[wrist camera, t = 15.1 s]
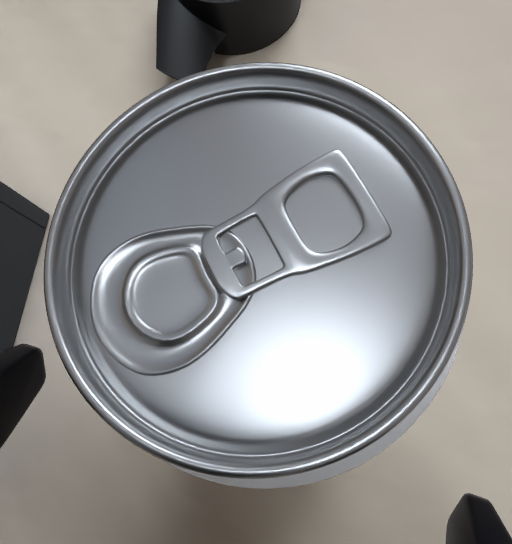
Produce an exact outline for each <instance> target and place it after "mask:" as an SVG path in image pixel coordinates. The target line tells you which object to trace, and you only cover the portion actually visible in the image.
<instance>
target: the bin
mask: <svg viewBox="0 0 512 544" xmlns="http://www.w3.org/2000/svg"><path fill="white" fill-rule="evenodd" d="M48 218H49V214H48V213H47V212H45V211H44V210H42V209H41V208H39V207H38V206H36V205H35V204H33V203H32V202H30V201H29V200H27V199H26V198H24V197H23V196H21V195H20V194H18V193H17V192H16V191H14V190H13V189H11V188H10V187H8V186H7V185H5V184H4V183H2V182H1V181H0V352H2V351H4V350H7V349H9V348H12V347H13V343H14V340H15V336H16V333H17V329H18V325H19V322H20V318H21V315H22V311H23V308H24V304H25V300H26V297H27V293H28V290H29V286H30V283H31V279H32V275H33V272H34V268H35V265H36V261H37V258H38V254H39V250H40V247H41V243H42V240H43V236H44V233H45V228H46V225H47V221H48Z"/></svg>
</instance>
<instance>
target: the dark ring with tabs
mask: <svg viewBox="0 0 512 544" xmlns="http://www.w3.org/2000/svg"><path fill="white" fill-rule="evenodd" d="M300 3H301V0H158V9H157V58H156V68H157V69H158V70H159V71H161V72H163V73H164V74H166V75H168V76H170V77H172V78H174V79H176V80H180V79H182V78H185V77H187V76H190V75H193V74H196V73H199V72H202V71H205V69H206V66H207V64H208V62H209V60H210V58H211V56H212V55H213V53H214V52H215V53H220V54H229V55H235V54H244V53H249V52H253V51H256V50H259V49H261V48H264V47H266V46H268V45H269V44H271V43H273V42H274V41H276V40H277V39H278V38H280V37H281V36H282V35H283V34H284V33H285V32H286V31H287V30H288V29H289V27H290V26H291V25H292V23H293V22H294V20H295V18H296V16H297V14H298V11H299V8H300Z"/></svg>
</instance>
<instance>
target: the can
mask: <svg viewBox="0 0 512 544" xmlns="http://www.w3.org/2000/svg"><path fill="white" fill-rule="evenodd" d="M472 276H473V252H472V241H471V233H470V227H469V222H468V218H467V214H466V210H465V207H464V203H463V200H462V197H461V195H460V192H459V189H458V187H457V185H456V182H455V180H454V178H453V176H452V174H451V172H450V170H449V168H448V166H447V165H446V163H445V161H444V160H443V158H442V156H441V155H440V153H439V152H438V150H437V149H436V148H435V146H434V145H433V144H432V142H431V141H430V140H429V138H428V137H427V136H426V135H425V134H424V132H423V131H422V130H421V129H420V128H419V127H418V126H417V125H416V124H415V123H414V122H413V121H412V120H411V119H410V118H409V117H408V116H407V115H406V114H404V113H403V112H402V111H401V110H400V109H398V108H397V107H396V106H395V105H393V104H392V103H391V102H389V101H388V100H386V99H385V98H383V97H382V96H380V95H379V94H377V93H375V92H374V91H372V90H370V89H369V88H367V87H365V86H363V85H361V84H359V83H357V82H355V81H352V80H350V79H348V78H345V77H343V76H340V75H337V74H334V73H331V72H328V71H325V70H321V69H317V68H313V67H308V66H302V65H296V64H288V63H274V62H257V63H243V64H234V65H228V66H223V67H218V68H213V69H209V70H206V71H202V72H199V73H196V74H193V75H190V76H187V77H185V78H182V79H180V80H177V81H175V82H173V83H170V84H168V85H166V86H164V87H162V88H160V89H159V90H157V91H155V92H153V93H152V94H150V95H148V96H147V97H145V98H143V99H142V100H140V101H139V102H137V103H136V104H135V105H133V106H132V107H130V108H129V109H128V110H127V111H125V112H124V113H123V114H122V115H120V116H119V117H118V118H117V119H116V120H115V121H114V122H113V123H112V124H110V125H109V126H108V127H107V128H106V129H105V130H104V131H103V132H102V134H101V135H100V136H99V137H98V138H97V139H96V140H95V141H94V143H93V144H92V145H91V146H90V147H89V149H88V150H87V151H86V153H85V154H84V155H83V157H82V158H81V160H80V161H79V163H78V164H77V166H76V167H75V169H74V171H73V172H72V174H71V176H70V178H69V180H68V181H67V183H66V185H65V187H64V190H63V192H62V194H61V196H60V199H59V201H58V204H57V206H56V209H55V212H54V215H53V218H52V222H51V225H50V229H49V234H48V238H47V244H46V250H45V259H44V295H45V304H46V311H47V316H48V321H49V325H50V329H51V333H52V336H53V339H54V342H55V345H56V348H57V350H58V353H59V355H60V358H61V360H62V362H63V364H64V366H65V368H66V370H67V372H68V374H69V376H70V377H71V379H72V381H73V382H74V384H75V386H76V387H77V389H78V390H79V392H80V393H81V394H82V396H83V397H84V398H85V400H86V401H87V402H88V403H89V405H90V406H91V407H92V408H93V409H94V410H95V411H96V413H97V414H98V415H99V416H100V417H101V418H102V419H103V420H104V421H105V422H106V423H107V424H108V425H110V426H111V427H112V428H113V429H114V430H115V431H117V432H118V433H119V434H120V435H122V436H123V437H124V438H126V439H127V440H128V441H130V442H131V443H133V444H134V445H136V446H137V447H139V448H141V449H142V450H144V451H146V452H148V453H149V454H151V455H153V456H155V457H157V458H159V459H161V460H163V461H165V462H166V463H168V464H170V465H172V466H174V467H176V468H178V469H180V470H182V471H184V472H186V473H189V474H191V475H194V476H197V477H199V478H202V479H205V480H209V481H212V482H216V483H220V484H225V485H230V486H236V487H244V488H261V489H269V488H285V487H293V486H300V485H305V484H310V483H314V482H318V481H321V480H325V479H328V478H331V477H334V476H336V475H339V474H342V473H344V472H346V471H348V470H351V469H353V468H355V467H357V466H359V465H361V464H362V463H364V462H366V461H368V460H370V459H371V458H373V457H374V456H376V455H377V454H379V453H380V452H382V451H383V450H385V449H386V448H387V447H389V446H390V445H391V444H392V443H394V442H395V441H396V440H397V439H398V438H399V437H401V436H402V435H403V434H404V433H405V432H406V431H407V430H408V429H409V428H410V427H411V426H412V425H413V424H414V423H415V422H416V421H417V419H418V418H419V417H420V416H421V415H422V413H423V412H424V411H425V410H426V408H427V407H428V406H429V404H430V403H431V402H432V400H433V399H434V397H435V396H436V394H437V392H438V391H439V389H440V387H441V386H442V384H443V382H444V380H445V378H446V376H447V374H448V372H449V370H450V367H451V365H452V363H453V360H454V357H455V355H456V352H457V349H458V345H459V342H460V338H461V334H462V330H463V325H464V322H465V318H466V314H467V310H468V305H469V300H470V294H471V287H472Z"/></svg>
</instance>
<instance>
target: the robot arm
mask: <svg viewBox="0 0 512 544" xmlns="http://www.w3.org/2000/svg"><path fill="white" fill-rule="evenodd" d="M45 377H46V373H45V366H44V359H43V353H42V351H41V349H39V348H37V347H34V346H31V345H28V344H20V345H17V346H14V347H12V348H9V349H7V350H4V351H2V352H0V448H1V447H2V446H3V444H4V443H5V441H6V440H7V439H8V437H9V436H10V434H11V433H12V431H13V430H14V428H15V427H16V425H17V424H18V422H19V421H20V419H21V418H22V416H23V415H24V413H25V412H26V410H27V409H28V407H29V406H30V404H31V403H32V401H33V400H34V398H35V397H36V395H37V394H38V392H39V391H40V389H41V388H42V386H43V384H44V382H45ZM446 544H512V538H511V537H510V535H509V533H508V531H507V530H506V528H505V526H504V524H503V523H502V521H501V519H500V517H499V516H498V514H497V512H496V510H495V509H494V507H493V505H492V504H491V503H490V502H489V501H488V500H487V499H485V498H482V497H479V496H476V495H473V494H470V493H467V494H464V495H463V497H462V498H461V500H460V501H459V503H458V504H457V506H456V507H455V509H454V511H453V512H452V514H451V515H450V517H449V520H448V524H447V531H446Z"/></svg>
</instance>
